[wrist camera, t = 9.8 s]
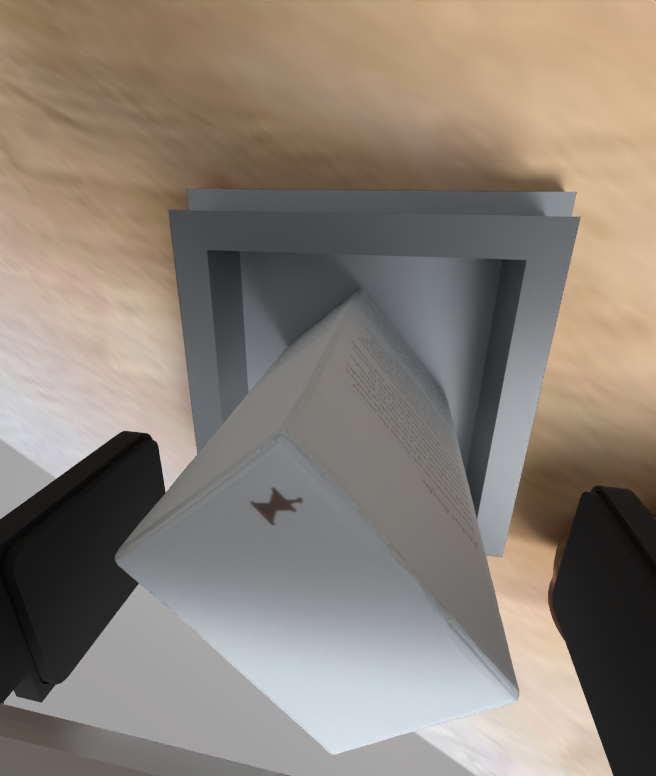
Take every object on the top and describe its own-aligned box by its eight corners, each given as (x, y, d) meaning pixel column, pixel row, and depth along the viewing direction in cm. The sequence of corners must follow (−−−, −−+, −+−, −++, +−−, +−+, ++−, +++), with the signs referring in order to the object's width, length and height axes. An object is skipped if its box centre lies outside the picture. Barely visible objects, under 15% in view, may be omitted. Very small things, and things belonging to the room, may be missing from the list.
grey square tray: (565, 193, 15) (620, 185, 11) (498, 511, 20) (519, 575, 16) (197, 190, 17) (141, 182, 13) (224, 479, 22) (189, 530, 19)
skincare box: (284, 347, 18) (95, 555, 7) (362, 284, 16) (283, 420, 5) (371, 450, 19) (330, 768, 8) (451, 400, 17) (538, 707, 6)
